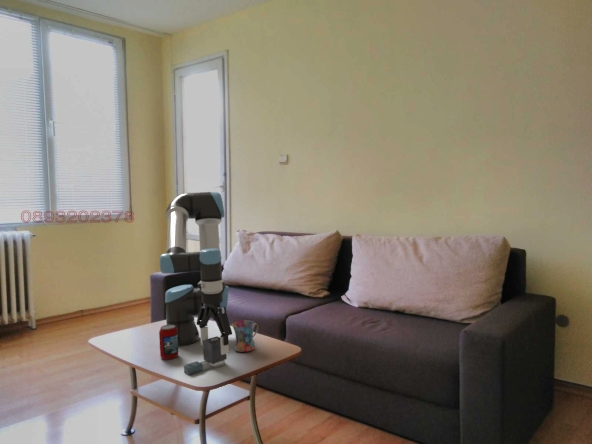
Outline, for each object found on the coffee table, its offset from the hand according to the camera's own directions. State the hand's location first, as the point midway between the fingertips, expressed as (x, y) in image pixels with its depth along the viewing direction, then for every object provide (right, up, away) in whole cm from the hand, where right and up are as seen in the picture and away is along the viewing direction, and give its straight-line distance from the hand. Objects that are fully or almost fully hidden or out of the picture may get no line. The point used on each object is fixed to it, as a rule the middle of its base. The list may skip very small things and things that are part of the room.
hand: (214, 349), depth 164 cm
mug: (+10, -5, +16) cm, 20 cm away
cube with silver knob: (0, -4, 0) cm, 4 cm away
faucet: (-3, -6, -3) cm, 7 cm away
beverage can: (-19, -6, +10) cm, 22 cm away
